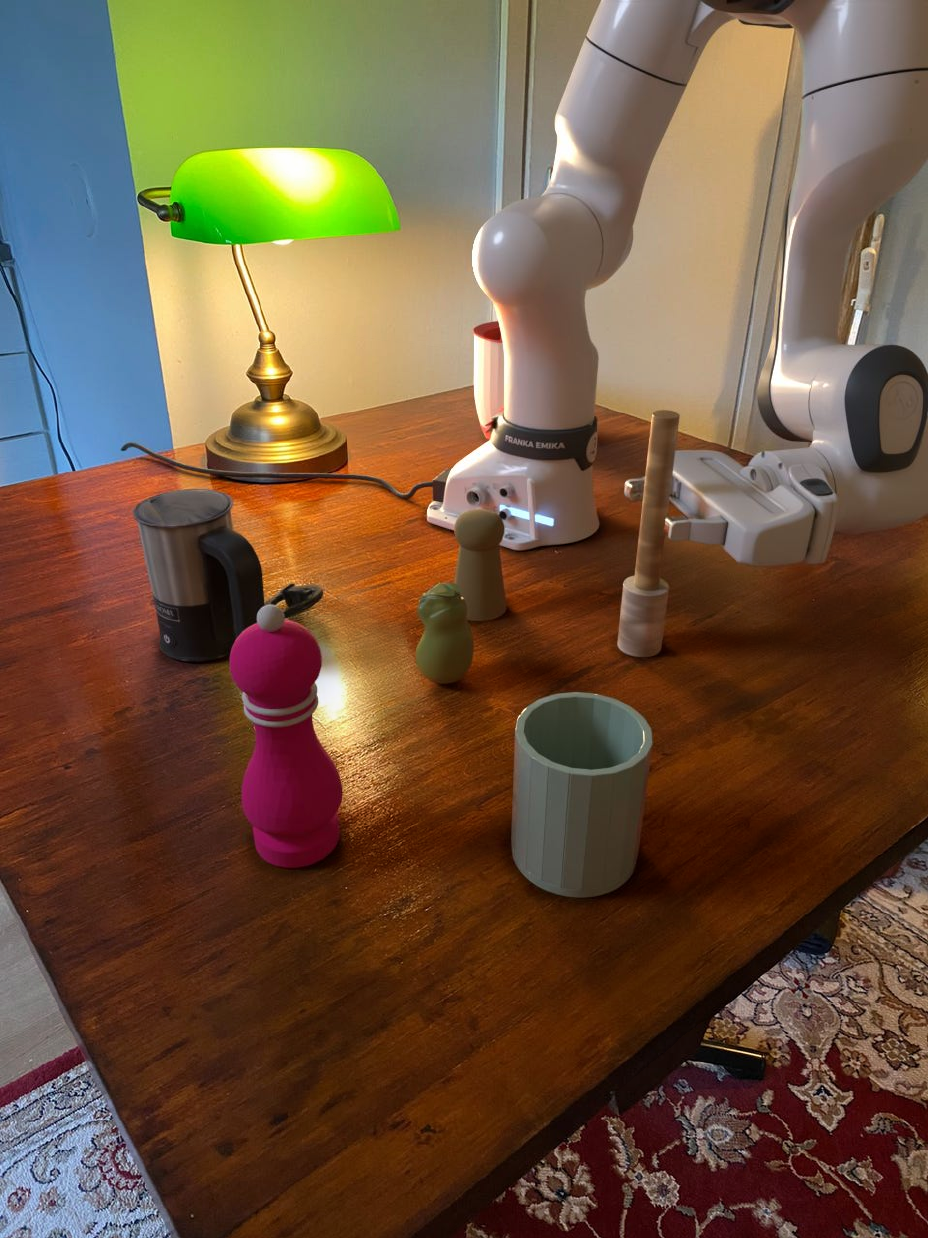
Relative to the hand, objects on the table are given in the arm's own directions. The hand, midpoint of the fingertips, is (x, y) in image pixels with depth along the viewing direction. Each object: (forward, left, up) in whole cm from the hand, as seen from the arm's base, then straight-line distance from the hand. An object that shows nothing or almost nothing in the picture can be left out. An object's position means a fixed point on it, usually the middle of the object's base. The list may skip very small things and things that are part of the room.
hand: (646, 509), depth 84 cm
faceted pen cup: (+5, -30, -15) cm, 33 cm away
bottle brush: (+1, 0, -15) cm, 15 cm away
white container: (-35, +55, -15) cm, 67 cm away
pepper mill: (-14, -38, -15) cm, 43 cm away
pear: (-14, -14, -15) cm, 25 cm away
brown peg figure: (-17, 0, -15) cm, 23 cm away
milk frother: (-37, -15, -15) cm, 43 cm away
